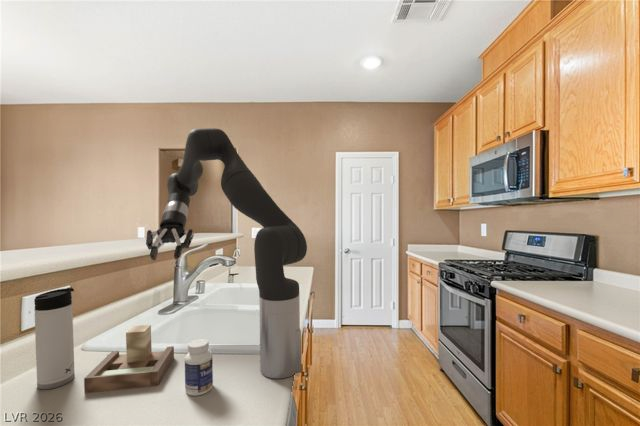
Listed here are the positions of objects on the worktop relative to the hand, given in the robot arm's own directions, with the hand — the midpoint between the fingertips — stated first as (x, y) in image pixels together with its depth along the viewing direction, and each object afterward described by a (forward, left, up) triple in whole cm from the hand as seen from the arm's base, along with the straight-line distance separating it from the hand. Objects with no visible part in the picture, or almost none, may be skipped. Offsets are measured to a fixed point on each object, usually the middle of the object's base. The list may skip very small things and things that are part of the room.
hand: (164, 258), depth 95 cm
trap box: (0, +24, -22) cm, 33 cm away
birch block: (0, +21, -20) cm, 29 cm away
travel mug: (+15, +24, -22) cm, 37 cm away
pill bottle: (-16, +33, -23) cm, 43 cm away
